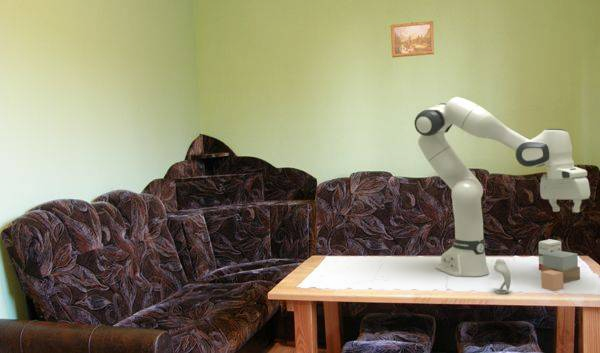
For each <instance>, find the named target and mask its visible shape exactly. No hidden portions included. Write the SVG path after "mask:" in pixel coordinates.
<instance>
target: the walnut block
mask: <svg viewBox="0 0 600 353" xmlns="http://www.w3.org/2000/svg"><path fill="white" fill-rule="evenodd" d="M547 270H554V271H558V272H563V285H564V284H568V283H570V282H571V283H572V282H576V281H578V280H581V266H578V267H575V268H571V269H568V270H564V271H562V270H557V269H552V268H548V267H543V266H541V270H540V273H541V272H543V271H547Z"/></svg>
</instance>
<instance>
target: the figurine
mask: <svg viewBox="0 0 600 353" xmlns="http://www.w3.org/2000/svg"><path fill="white" fill-rule="evenodd" d="M493 269H494V272H497V273H499V274H501V275H502V276H503V280H504V281H503V283H502V284H501V286H500V287H499V289H496V294H508V291H509V290H510V288H511V280H512V279H511V278H512V277H511V272H510V268H509V267H508V265H507V263H506V260H505V259H502V258H497V259H496V261H495V264H494V266H493ZM504 287H506V288H505V289H504Z"/></svg>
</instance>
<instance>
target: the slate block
mask: <svg viewBox="0 0 600 353" xmlns="http://www.w3.org/2000/svg"><path fill="white" fill-rule="evenodd" d="M578 256H579V255H578V253H576V252H575V253H574V252H570V251H562V250H561V251H558V250H557V251H553V252H549V253H544V254H543V267H548V268H552V269H557V270H562V271H564V270H568V269H571V268H575V267H579V261H578V260H579V259H578Z"/></svg>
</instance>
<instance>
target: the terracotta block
mask: <svg viewBox="0 0 600 353" xmlns="http://www.w3.org/2000/svg"><path fill="white" fill-rule="evenodd" d="M540 279H541V281H540V282H541V285H540V286H541V289H543V290H547V291H551V292H557V291H560V290H564V284H563V272H558V271H554V270H547V271H543V272H541V271H540Z"/></svg>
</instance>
